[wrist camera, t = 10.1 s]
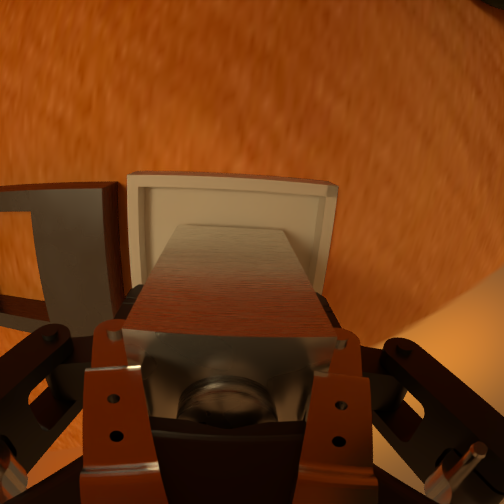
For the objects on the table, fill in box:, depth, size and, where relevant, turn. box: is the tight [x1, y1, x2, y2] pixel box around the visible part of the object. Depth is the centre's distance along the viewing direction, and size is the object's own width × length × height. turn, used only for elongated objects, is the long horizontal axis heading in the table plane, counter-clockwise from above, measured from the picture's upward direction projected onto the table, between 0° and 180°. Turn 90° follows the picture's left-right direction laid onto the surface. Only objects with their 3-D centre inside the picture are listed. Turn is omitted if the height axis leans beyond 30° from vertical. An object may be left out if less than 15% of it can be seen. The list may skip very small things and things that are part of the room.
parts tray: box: [127, 171, 338, 295], centre depth 15 cm, size 9×9×2 cm
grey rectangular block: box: [122, 225, 337, 429], centre depth 10 cm, size 5×5×9 cm
